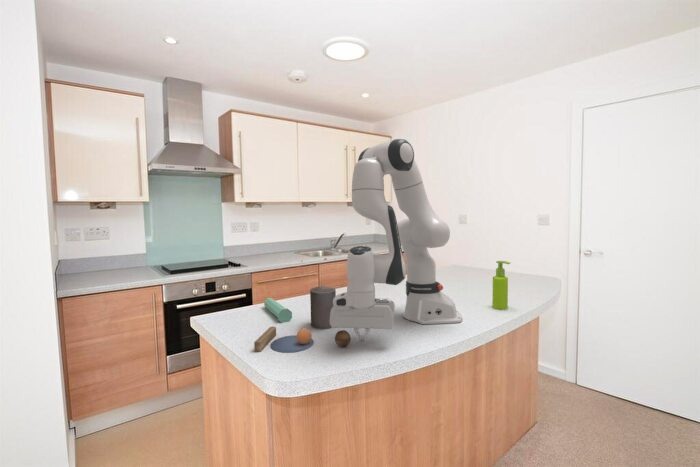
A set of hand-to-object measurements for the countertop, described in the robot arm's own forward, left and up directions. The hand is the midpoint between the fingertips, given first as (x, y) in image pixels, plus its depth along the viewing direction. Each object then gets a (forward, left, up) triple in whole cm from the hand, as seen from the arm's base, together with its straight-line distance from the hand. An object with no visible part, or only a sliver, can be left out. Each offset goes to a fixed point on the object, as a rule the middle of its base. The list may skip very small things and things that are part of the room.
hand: (362, 341), depth 112 cm
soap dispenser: (-55, -45, -2) cm, 71 cm away
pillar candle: (+16, -19, -2) cm, 25 cm away
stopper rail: (+32, 0, -2) cm, 32 cm away
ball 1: (+19, 0, +1) cm, 19 cm away
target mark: (+23, 0, -2) cm, 23 cm away
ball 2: (+6, 0, +1) cm, 6 cm away
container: (+39, -31, -2) cm, 50 cm away
